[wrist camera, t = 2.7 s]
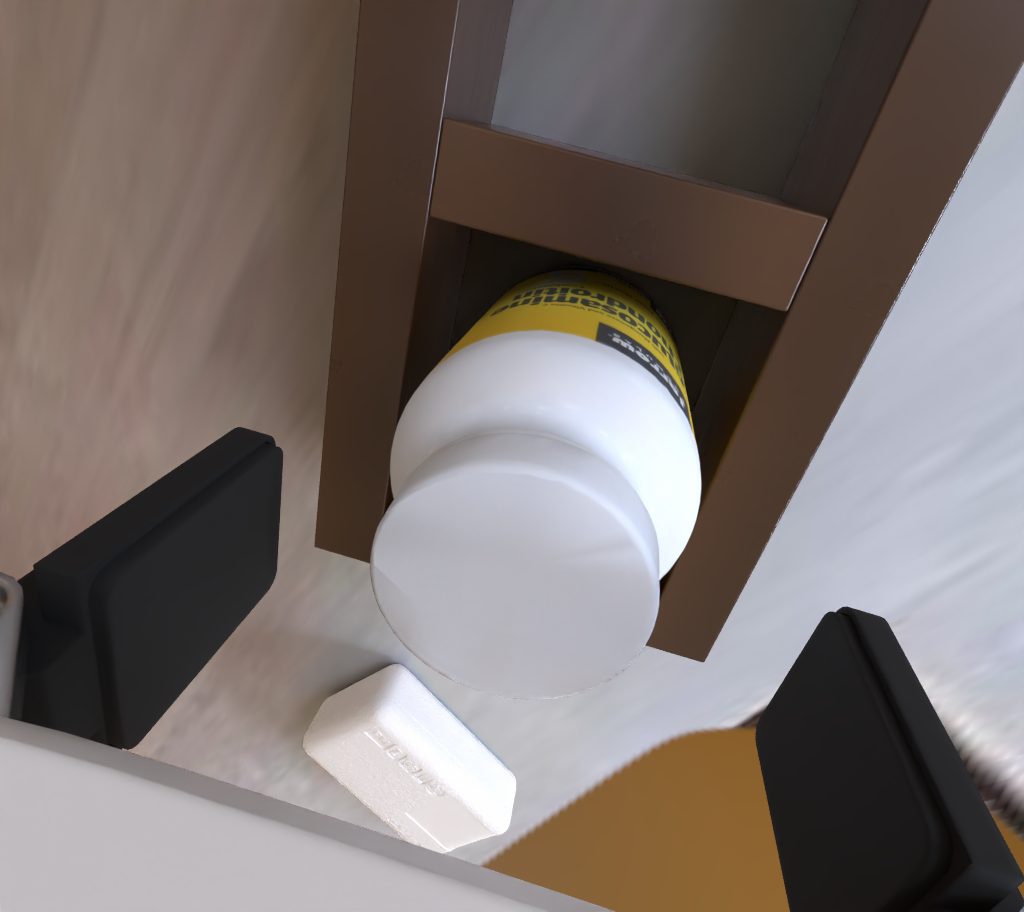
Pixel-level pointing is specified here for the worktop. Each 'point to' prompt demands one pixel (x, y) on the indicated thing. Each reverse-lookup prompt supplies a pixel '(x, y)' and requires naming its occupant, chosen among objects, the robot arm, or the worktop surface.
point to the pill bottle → (540, 490)
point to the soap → (411, 761)
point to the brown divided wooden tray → (650, 251)
